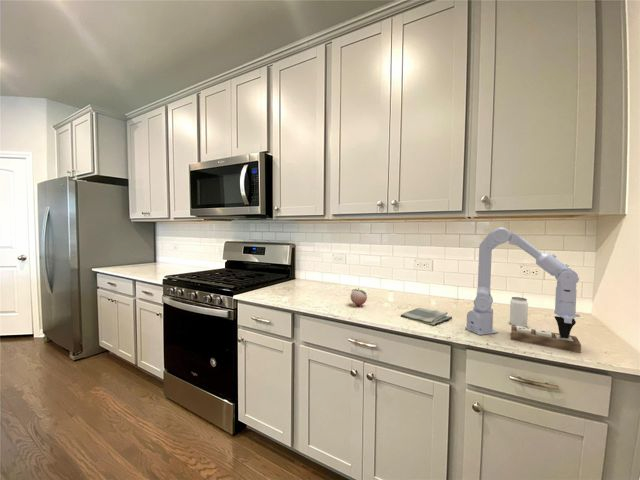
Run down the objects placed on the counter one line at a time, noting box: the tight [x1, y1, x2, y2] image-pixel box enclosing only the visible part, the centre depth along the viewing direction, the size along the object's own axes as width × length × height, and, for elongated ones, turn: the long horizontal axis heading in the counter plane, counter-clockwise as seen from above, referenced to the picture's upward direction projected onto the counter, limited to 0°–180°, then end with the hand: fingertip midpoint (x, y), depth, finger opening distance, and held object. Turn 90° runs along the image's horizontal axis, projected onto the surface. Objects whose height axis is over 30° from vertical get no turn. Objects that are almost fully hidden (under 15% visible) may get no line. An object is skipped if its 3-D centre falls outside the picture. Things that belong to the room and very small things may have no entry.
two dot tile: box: [555, 334, 573, 341], centre depth 103 cm, size 5×5×3 cm
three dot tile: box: [516, 326, 532, 334], centre depth 110 cm, size 5×5×3 cm
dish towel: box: [400, 307, 453, 327], centre depth 135 cm, size 19×18×3 cm
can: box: [509, 296, 529, 327], centre depth 125 cm, size 6×6×12 cm
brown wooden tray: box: [510, 325, 582, 353], centre depth 106 cm, size 20×9×3 cm, turn 55°
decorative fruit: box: [350, 287, 368, 307], centre depth 154 cm, size 9×8×10 cm
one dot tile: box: [535, 328, 552, 338], centre depth 106 cm, size 5×5×3 cm
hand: (564, 337), depth 103 cm, fingers closed, pressing on two dot tile
